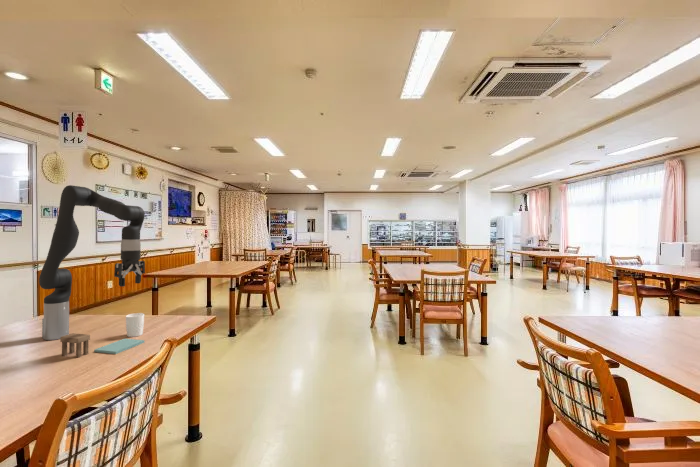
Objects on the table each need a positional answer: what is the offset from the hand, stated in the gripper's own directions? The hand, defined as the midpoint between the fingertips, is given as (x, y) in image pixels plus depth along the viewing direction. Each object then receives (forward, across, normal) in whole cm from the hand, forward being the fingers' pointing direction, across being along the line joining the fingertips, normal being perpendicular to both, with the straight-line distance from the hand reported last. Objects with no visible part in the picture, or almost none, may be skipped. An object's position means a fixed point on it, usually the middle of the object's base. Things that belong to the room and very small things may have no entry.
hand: (130, 284), depth 150 cm
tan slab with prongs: (+28, +14, -12) cm, 34 cm away
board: (+28, +3, -2) cm, 28 cm away
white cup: (+28, -14, -10) cm, 33 cm away
